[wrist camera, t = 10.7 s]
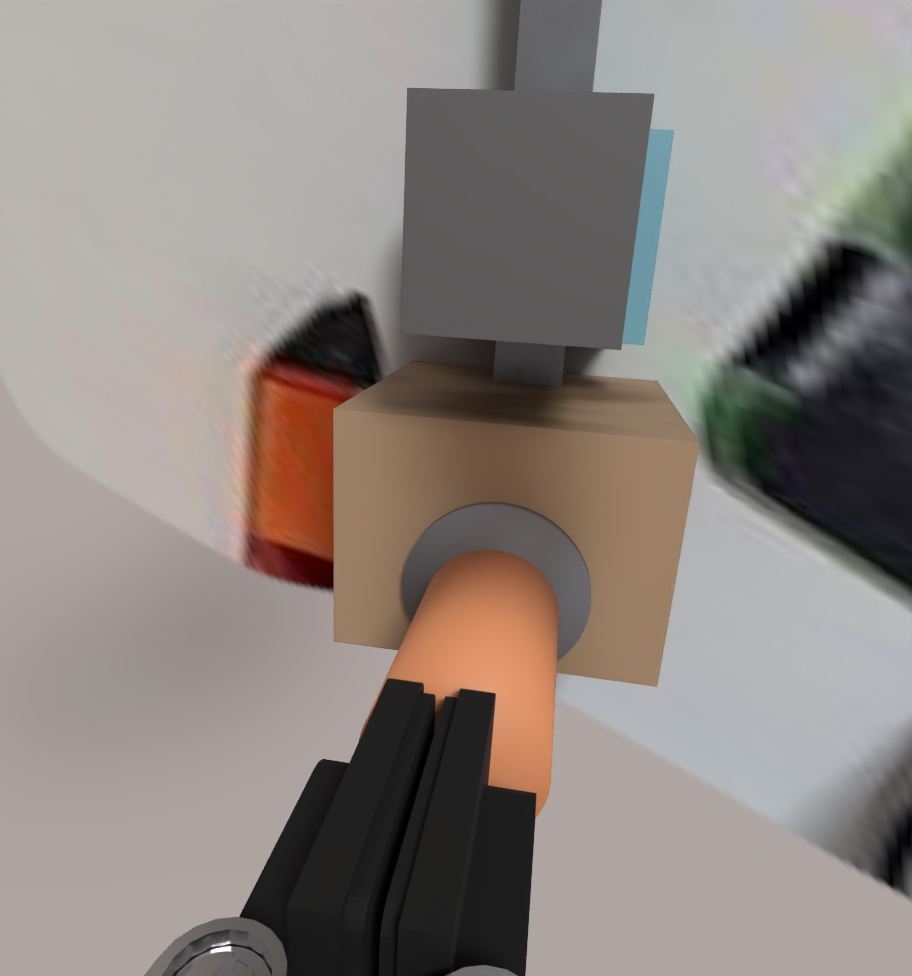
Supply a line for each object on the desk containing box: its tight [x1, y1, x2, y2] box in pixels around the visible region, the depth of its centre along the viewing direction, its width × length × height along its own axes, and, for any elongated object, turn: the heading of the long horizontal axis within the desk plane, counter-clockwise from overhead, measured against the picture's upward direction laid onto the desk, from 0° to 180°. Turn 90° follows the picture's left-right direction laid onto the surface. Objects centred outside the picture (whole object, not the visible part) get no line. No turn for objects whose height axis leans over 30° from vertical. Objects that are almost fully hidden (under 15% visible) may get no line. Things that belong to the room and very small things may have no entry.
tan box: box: [333, 362, 700, 687], centre depth 20 cm, size 8×6×8 cm
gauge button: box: [359, 550, 559, 818], centre depth 13 cm, size 3×3×5 cm
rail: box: [493, 0, 602, 386], centre depth 18 cm, size 5×16×4 cm, turn 177°
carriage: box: [400, 88, 674, 350], centre depth 16 cm, size 6×5×10 cm
